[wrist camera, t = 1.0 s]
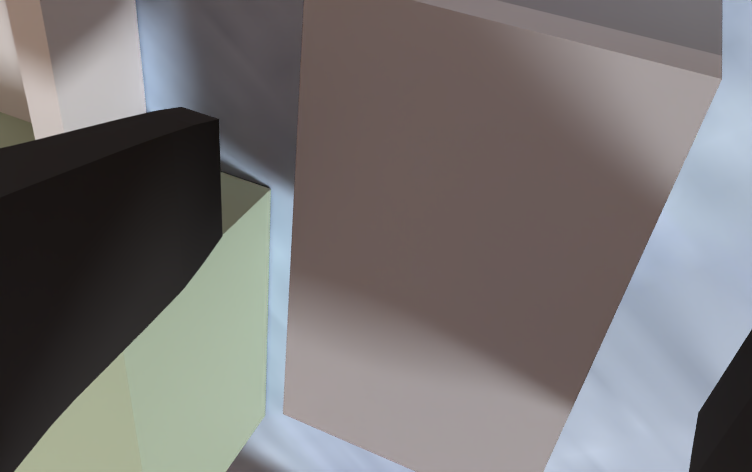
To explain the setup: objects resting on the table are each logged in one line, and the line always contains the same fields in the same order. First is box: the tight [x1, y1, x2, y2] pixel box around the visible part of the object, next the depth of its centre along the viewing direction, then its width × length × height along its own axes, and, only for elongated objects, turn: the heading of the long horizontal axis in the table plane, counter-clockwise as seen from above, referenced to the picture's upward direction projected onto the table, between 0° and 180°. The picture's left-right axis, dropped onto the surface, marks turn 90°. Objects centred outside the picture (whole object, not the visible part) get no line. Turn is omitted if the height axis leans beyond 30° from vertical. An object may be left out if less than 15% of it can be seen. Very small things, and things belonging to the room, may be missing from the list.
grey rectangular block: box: [283, 0, 722, 472], centre depth 10 cm, size 7×4×5 cm, turn 174°
